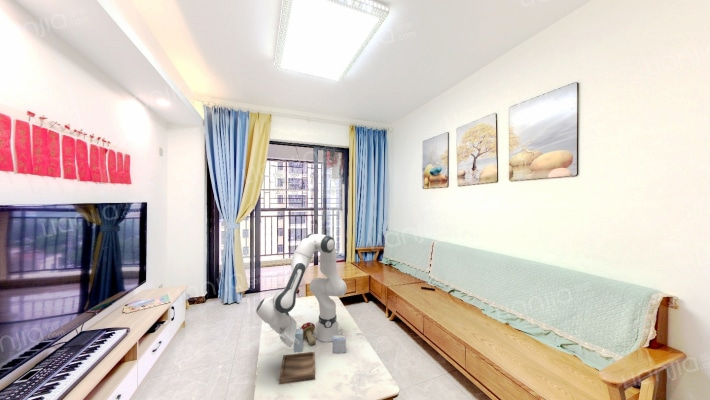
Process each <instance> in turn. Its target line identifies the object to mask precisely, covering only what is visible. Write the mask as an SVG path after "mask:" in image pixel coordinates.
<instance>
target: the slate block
mask: <svg viewBox="0 0 710 400" xmlns="http://www.w3.org/2000/svg"><path fill="white" fill-rule="evenodd" d="M295 337H296V339H299V340H300V344H299V345H298V344H296V343H294V344H293V354H297V353H304V351H303V350H304V349H303V346H304V344H303V343H304V338H303V329H300V328H298V329H297V328H296V333H295Z"/></svg>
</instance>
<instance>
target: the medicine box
mask: <svg viewBox="0 0 710 400" xmlns="http://www.w3.org/2000/svg"><path fill="white" fill-rule="evenodd" d="M346 340H347V336H346V335H342V334H341V335H334V336H333V341H332V354H346V351H347V348H346V344H347V341H346Z"/></svg>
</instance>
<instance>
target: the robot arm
mask: <svg viewBox="0 0 710 400" xmlns="http://www.w3.org/2000/svg"><path fill="white" fill-rule="evenodd" d="M335 245H336V242H335V238H333V236H330V235H327V234H321V233H310V234H308V235H306V236H305V238H303V239H302V240H301V241H300V243H299V244H298V245H297V247H296V249H295V250H294V253H293V254H292V257H291V260H290V267H291V273H290V276H289V279H288V281H287V283H286V286H285V288H284V290H283V289H282V290H278V291H277V292H276V293H274V294H273V295H271V296H268V297H266V298H263V299H262V300H261V301H260V302H259V304H258V305H257V308H256V312H255V313H256V315H257V317H259V318H260V319H261V320H262V321H263V322H264V323H265V324H268V325H269V327H270V328H271V329H272V330H273V331H275V332H276V333H277V334H278V335H279V339H280V340H281V341H282V343H283V344H284V345H286V346H287V347H288V348H291V347H292V346H294V343H296V344H298V345H299V344H300V340H299V339H296V337H295V333H296V329H297V324H298V323H297V321H296V319H295V318H294V317H292V316H291V315H290V312H292V310H293V309H294V308H295V306H296V301H297V300H296V298H297V293H298V289H299V287H300V284H301V282H302V280H303V277H304V274H305V273H306V271H307V269H308V267H309V265H310V264H311V261H312V258H313V256H314V254H315V252H319V253H320V254H319V271H320V273H321V274H323V275H325V277H326V278H325V277H316V278H313V279H311V281H310V282H309V286H308V287H309V291H310V292H311V294H312V295H313V296H315V298H316V300H317V302H318V305H319V306H318V308H319V309H318V311H319V315H318V321H317V322H316V323H315V330H314V332H313V336H314V337H315V339H316V340H318V341H320V342H325V343H329V342H333V336H334V335H342V332H341V330H340V328H339V322H338V321H337V313H336V312H337V311H336V310H337V305H336V302H335V300H334V299H332V298H331V297H344V295H345V294H346V292H347V289H348V287H347V283H346V282H345V280H343V279H342V278H341V276H340V275H339V272H338V268H337V251H336V250H337V249H336V246H335Z"/></svg>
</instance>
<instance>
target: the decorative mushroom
mask: <svg viewBox="0 0 710 400" xmlns="http://www.w3.org/2000/svg"><path fill="white" fill-rule="evenodd" d="M299 329H303V339H304V338H307V341H308V344H310V345H311V346H312V345H315V344H316V342H317V341H316V340H317V338H315V337H314V333H315V329H316V324H314V323H312V322H306V323H303V325H302V326H301V327H300V328H299Z"/></svg>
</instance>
